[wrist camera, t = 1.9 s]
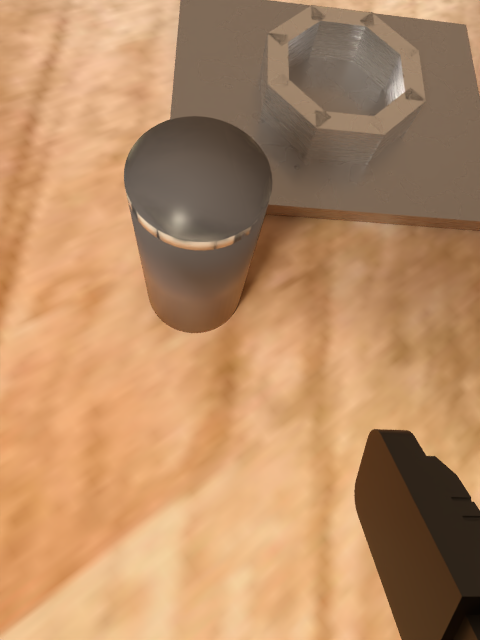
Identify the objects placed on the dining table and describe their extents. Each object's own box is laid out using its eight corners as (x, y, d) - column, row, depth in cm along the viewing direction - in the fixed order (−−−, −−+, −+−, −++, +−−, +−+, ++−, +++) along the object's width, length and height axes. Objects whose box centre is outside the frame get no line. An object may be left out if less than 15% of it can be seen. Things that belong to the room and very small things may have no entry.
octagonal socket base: (164, 206, 26) (161, 167, 23) (181, 4, 32) (181, -51, 28) (492, 231, 28) (532, 199, 25) (458, 37, 33) (487, -11, 30)
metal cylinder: (144, 330, 24) (116, 236, 14) (152, 244, 26) (131, 109, 16) (239, 335, 24) (272, 247, 15) (241, 250, 26) (272, 123, 17)
